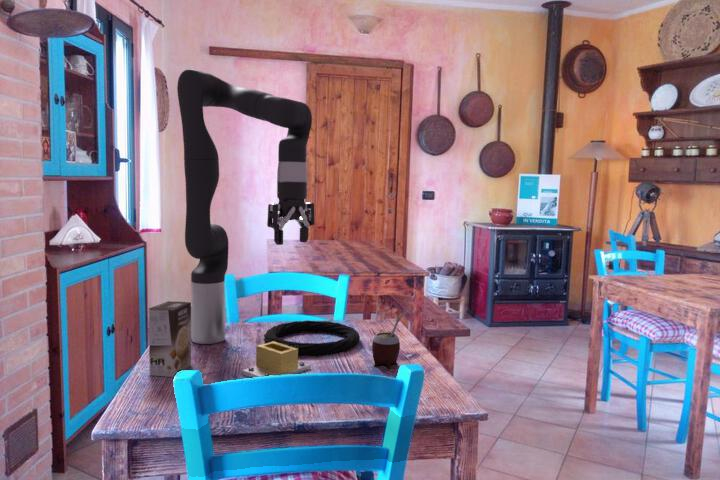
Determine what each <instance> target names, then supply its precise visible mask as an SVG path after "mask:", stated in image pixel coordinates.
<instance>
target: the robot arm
mask: <svg viewBox="0 0 720 480" xmlns="http://www.w3.org/2000/svg"><path fill="white" fill-rule="evenodd" d="M176 87H177V88H176V89H177V91H176V92H177V100H178V106H179V112H180V118H181V119H180V120H181V127H182V141H183V160H184V161H183V162H184V164H183V165H184V179H185V202H186V203H185V204H186V206H185V207H186V208H185V209H186V210H185V224H184V225H185V227H184V244H185V248H186V250H187V252H188V254H189V256H191V257H192V258H193V259H197V260H198V261H199V262H198V264H197V266H196V267H195V268H194V269H193V270H192V271H191V273H190V279H191V280H190V286H191V288H190V289H191V290H190V291H191V294H190V295H191V343H194V344H199V345H200V344H201V345H208V344H209V345H212V344H213V345H214V344H217V343H222V342H223V341H225V340H226V330H225V329H226V288H225V287H226V286H225V285H226V281H225V279H226V273H227V272H228V271H227V270H228V265H229V263H228V262H229V235H228V234H227V231H226V230H225V228H224V227H222V226H221V225H219V224H217V223H211V205H212V203H213V202H212V201H213V198H214V195H215V192H216V189H217V187H218V184H219V179H220V163H219V162H220V161H219V160H220V159H219V154H218V153H219V152H218V150H217V147H216V145H215V142H214V140H213V138H212V137H211V135H210V133H209V131H208V128H207V126H206V122H205V118H204V117H205V116H204V107H205V108H207V107H211V108H212V107H214V108H216V107H217V108H218V107H219V108H227V109H232V110H234V111H237V112H238V113H240V114H242V115H245V116H247V117H250V118H254V119H257V120H260V121H264V122H268V123H270V124H272V125H275V126H278V127H281V128H286V129H287V133H286V137H285V138H282V139H280V140H279V142H278V162H277V163H278V164H277V174H276V175H277V176H276V180H277V181H276V183H277V184H276V195H277V199H278V203H274V202H273V203H271V202H270V203H268V206H267V223H266V225H267V227H268V228H272V229H273V234H274V235H273V241H274V243H275V245H278V246H282V245H284V227H285V225H286V224H287V223H288V222H289V221H293V220H294V221H296V222H297V223H298V225H299V226H300V227H299V242H300V243H307V242H308V240H309V228H310V227H311V226H314V225H315V223H316V222H315V204H314V202H308V201H307V202H305V201H306V199H307V193H308V168H307V144H308V141H309V138H310V134H311V133H310V132H311V128H312V125H313V124H312V123H313V116H312V115H313V114H312V112H311V108H310V106H309V105H308V104H306V103H305V102H302V101H298V100H295V99H290V98H287V97H280V96H275V95H273V94H270V93H268V92H264V91H261V90H256V89H253V88H246V87H242V86H237V85H233V84H231V83H229V82H227V81H225V80H223V79H221V78H220V77H217V76H215V75H214V74H212V73H209V72H206V71H202V70H198V69H192V68H187V69H184V70H183V71H182V72H181V73H180V75H179V77H178V79H177V86H176Z"/></svg>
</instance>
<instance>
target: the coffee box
mask: <svg viewBox="0 0 720 480" xmlns="http://www.w3.org/2000/svg"><path fill="white" fill-rule="evenodd" d="M191 306H192V302H189V301H178V300H177V301H170V300H169V301H168V300H167V301H165V302H162V303H159V304H157V305H155V306H152V307H149V308H148V331H149V333H148V335H149V336H148V337H149V339H148V344H149V346H148V347H149V352H148V353H149V356H148V357H149V361H148V362H149V376H153V377H154V376H155V377H169V378H173V377H175V376H174V375H175V374H176V373H177V372H179V371H181V370H183V371H185V370H187V369H188V368H189V367H190V366H192V339H191Z"/></svg>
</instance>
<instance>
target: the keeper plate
mask: <svg viewBox="0 0 720 480" xmlns="http://www.w3.org/2000/svg"><path fill="white" fill-rule="evenodd" d="M308 370H311V364H309V363H306V362H303V361H300V360H298V369H296V370H293V371H290V372H287V373H284V374H293V375H295V374H294V373H296V374H299V373H302V372H305V371H308ZM241 373H242V375H243V376H246V377H248V378H251V377H258V376H269V375H281V374H278V373H275V372H272V371H270V370H267V369H264V368H261V367H259V366H256V365H254V366H251V367H248V368H244V369H241Z"/></svg>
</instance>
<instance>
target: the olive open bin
mask: <svg viewBox="0 0 720 480" xmlns="http://www.w3.org/2000/svg"><path fill="white" fill-rule="evenodd" d="M255 347H256V351H255V353H256V354H255V355H256V359H255V360H256V363H255V364H256V365H255V366H259V367H261V368H264V369H267V370H270V371H272V372H275V373H278V374H284V373H287V372H290V371H293V370H296V369H298V361H299V356H298V349H297V348H294V347H290V346H287V345H284V344H281V343H277V342H274V341H273V342H269V343H265V342H264V343H262V344H258V345H256V346H255Z"/></svg>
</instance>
